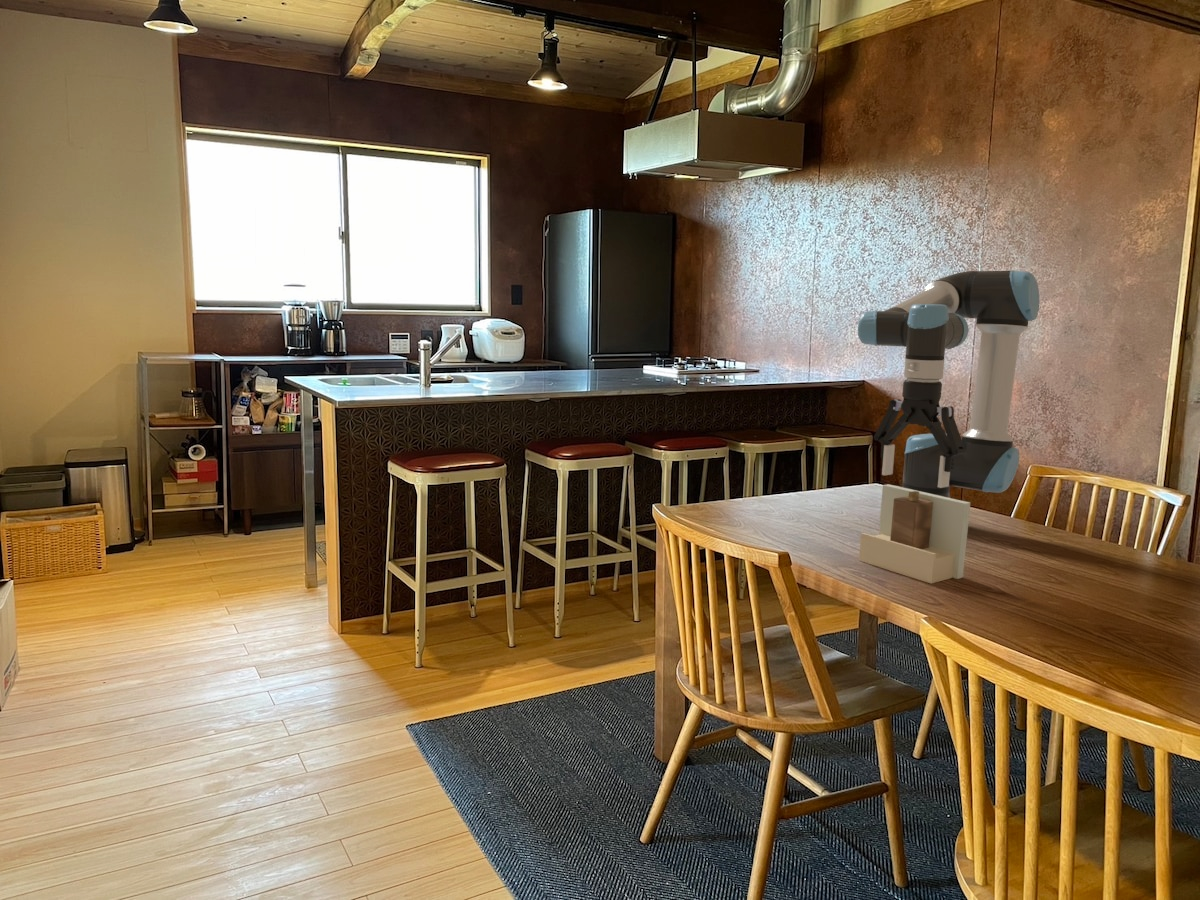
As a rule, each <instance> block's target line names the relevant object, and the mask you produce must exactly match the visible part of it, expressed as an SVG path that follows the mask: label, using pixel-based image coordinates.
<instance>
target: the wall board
mask: <svg viewBox="0 0 1200 900" xmlns="http://www.w3.org/2000/svg"><path fill="white" fill-rule="evenodd" d="M881 491H882V492H881V503H880V515H879V528H878V534H876V535H873V534H869V533H865V532H861V534H860V544H859V558H858V561H859V562H862V563H865V564H869V565H871V566H875V567H877V568H880V569H881V568H882V569H883V570H884V569H885V570H888V571H890V572H893V573H897V574H900V575H903V576H906V577H908V578H913V579H915V580H918V581H920V582H925V583H929V584H931V585H932V584H935V583H939V582H941V581H945V580H949V579H957V580H959V579H962V578H963V577H964V570H965V559H966V551H967V541H968V540H967V539H968V530H969V519H970V511H971V502H970V501H965V500H959V499H956V498H951V497H950V498H948V497H943V496H939V495H934V494H930V493H925V492H921V491H919V499H923V500H928V501H932V502H933V507H932V518H931V528H930V539H929V548H925V549H918V548H915V547H911V546H908V545H904V544H901V543H897V542H894V541H890V538H891V527H892V515H893V504H894V499H895V498H900V497H906V496H909V492H913V491H916V490H912V489H907V488H903V487H902V486H899V485H893V484H888V483H887V484H883V485H882V490H881Z"/></svg>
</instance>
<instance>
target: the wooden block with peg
mask: <svg viewBox="0 0 1200 900" xmlns="http://www.w3.org/2000/svg"><path fill="white" fill-rule="evenodd" d="M932 507H933V502H932V501H928V500H923V499H919V491H913V492H909V496H906V497H900V498H895V499H894V504H893V515H892V527H891V538H890V541H894V542H897V543H901V544H904V545H908V546H911V547H915V548H918V549H925V548H929V539H930V528H931V518H932Z"/></svg>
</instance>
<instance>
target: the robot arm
mask: <svg viewBox="0 0 1200 900" xmlns="http://www.w3.org/2000/svg"><path fill="white" fill-rule="evenodd" d="M1039 311H1040V291H1039V286H1038V282H1037V278H1036V277H1035V275H1034V274H1033V273H1032V272H1030V271H1025V270H1024V271H1021V270H967V271H962V272H957V273H953V274H950V275H947V276H944V277H941V278H939V279H936V280H934V281H932V282H930V283H928V284H927V285H926V286H925V287H924V288H923V289H922V291H921V292H919V293H918V294H916V295H913V296H911V297H909V298H908V299H905V300H903V301H902V302H900V303H898V304H896V305H894V306H892V307H890V308H888V309H885V310H883V311H882V310H881V311H880V310H876V309H875V310H870V311H865V312H863V313H862V314H861V315H860V318H859V320H858V323H857V324H858V325H857V335H858V339H859V341H860V342H861V343H862V344H864V345H870V346H875V347H877V346H881V347H882V346H883V347H884V346H885V347H886V346H887V347H905V349H906V350H905V357H904V358H905V359H904V371H903V373H904V374H903V376H904V378H906V379H904V381H903V383H902V393H901V394H902V397H903V400H901V399H897V398H896V399H891V400H889V402H888V408H887V411H886V413H885V414H884V416H883V418H882V420H881V422H880V424H879V426H878V428H877V429H876V432H875V434H874V435H873V439H874V441H877V442H879V443H880V444H881V445H880V446H881V447H880V448H881V449H880V459H882V468H881V475H882V476H888V475H889V476H891V475H893V473H894V462H895V461H894V460H895V449H896V445H895V444H894V441H895V440H896V438H897V437H898V436H899V435H900V434H901V433H902V432H903V431H904V430H905V429H906V428H907V427H908V426H909V425H918V426H921V427H924V426H925V427H926V428H927V430H929V431H930V433H920V434H914V435H911V436H909V437H908V438H907V440H906V444H905V451H904V453H903V454H904V461H903V472H902V473H903V474H902V485H901V487H903V488H907V489H912V490H916V491H921V492H925V493H930V494H934V495H939V496H943V497H948V498H951V497H950V491H951V490H950V489H951V487H956V488H962V489H969V490H975V491H982V492H983V493H995V494H997V493H1004V492H1005V491H1006V490H1008V488H1009V487H1010V486H1011V484H1012V482H1013V480H1014V479H1015V476H1016V473H1017V471H1018V466H1019V462H1020V451H1019V449H1018V448H1017V447H1016V446H1013V442H1014V439H1013V438H1012V437H1011V436H1010V435H1009V433H1008V427H1009V420H1010V413H1011V404H1012V397H1013V390H1014V382H1015V381H1014V380H1015V375H1016V374H1015V373H1016V366H1017V360H1018V359H1017V358H1018V350H1019V344H1020V338H1021V337H1020V336H1021V334H1022V333H1024V332H1025V331H1026V330H1027V329H1029V322H1032V321H1035V320H1036V319H1037V317H1038V312H1039ZM967 319H976V321H975V322H976V323H975V326H976V328H978V330H979V331H980V332H981V334H980V335H981V336H980V343H979V353H978V359H977V366H976V367H977V369H976V375H975V383H974V391H973V399H972V407H971V417H970V424H969V429H968V430H966V431H965V432H964V433H963V434H962V436H961V434H960V432H959V429H958V425H957V423H956V420H955V414H954V413H955V410H954V409H955V408H954V407H953V406H952V405H949V406H942V407H941V406H940V400H941V398H942V390H943V389H942V388H943V383H942V382H941V381H940V380H942V379H944V368H945V367H944V366H945V365H944V364H945V353H946V349H947V350H952V349H955V348H957V347H959V346H961V345H962V344H963V343H965V341H966V339H967V337H968V336H969V332H970V331H969V329H970V328H969V325H968V322H967ZM901 410H902V412H903V413H902V414H901V416H899V413H900V411H901ZM897 416H899V418H897ZM938 416H940V418H941V421H940V419H939V418H938ZM896 419H898V420H897V421H896V423H895V420H896ZM941 422H942V423H941ZM894 423H895V424H894ZM893 424H894V425H893ZM942 426H943V427H944V428H943V427H942Z"/></svg>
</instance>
